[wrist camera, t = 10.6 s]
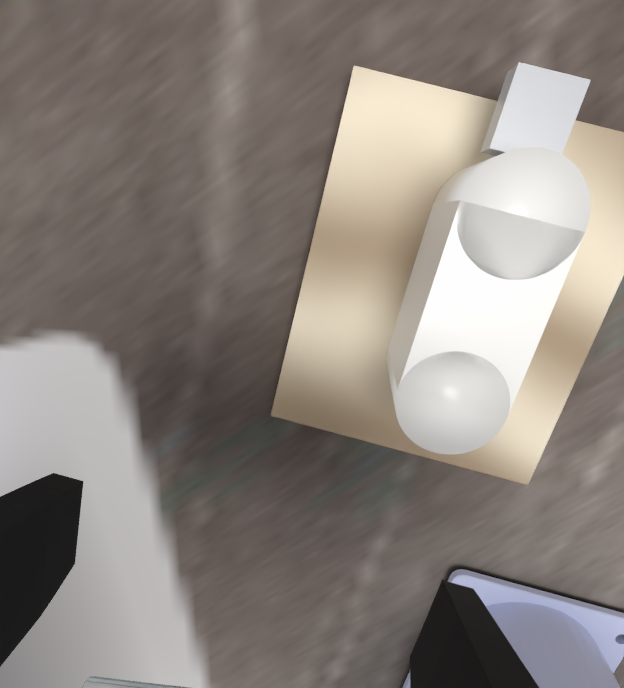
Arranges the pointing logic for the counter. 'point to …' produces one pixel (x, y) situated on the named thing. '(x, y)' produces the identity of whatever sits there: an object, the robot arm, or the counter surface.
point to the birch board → (399, 257)
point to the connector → (490, 268)
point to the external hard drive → (121, 683)
